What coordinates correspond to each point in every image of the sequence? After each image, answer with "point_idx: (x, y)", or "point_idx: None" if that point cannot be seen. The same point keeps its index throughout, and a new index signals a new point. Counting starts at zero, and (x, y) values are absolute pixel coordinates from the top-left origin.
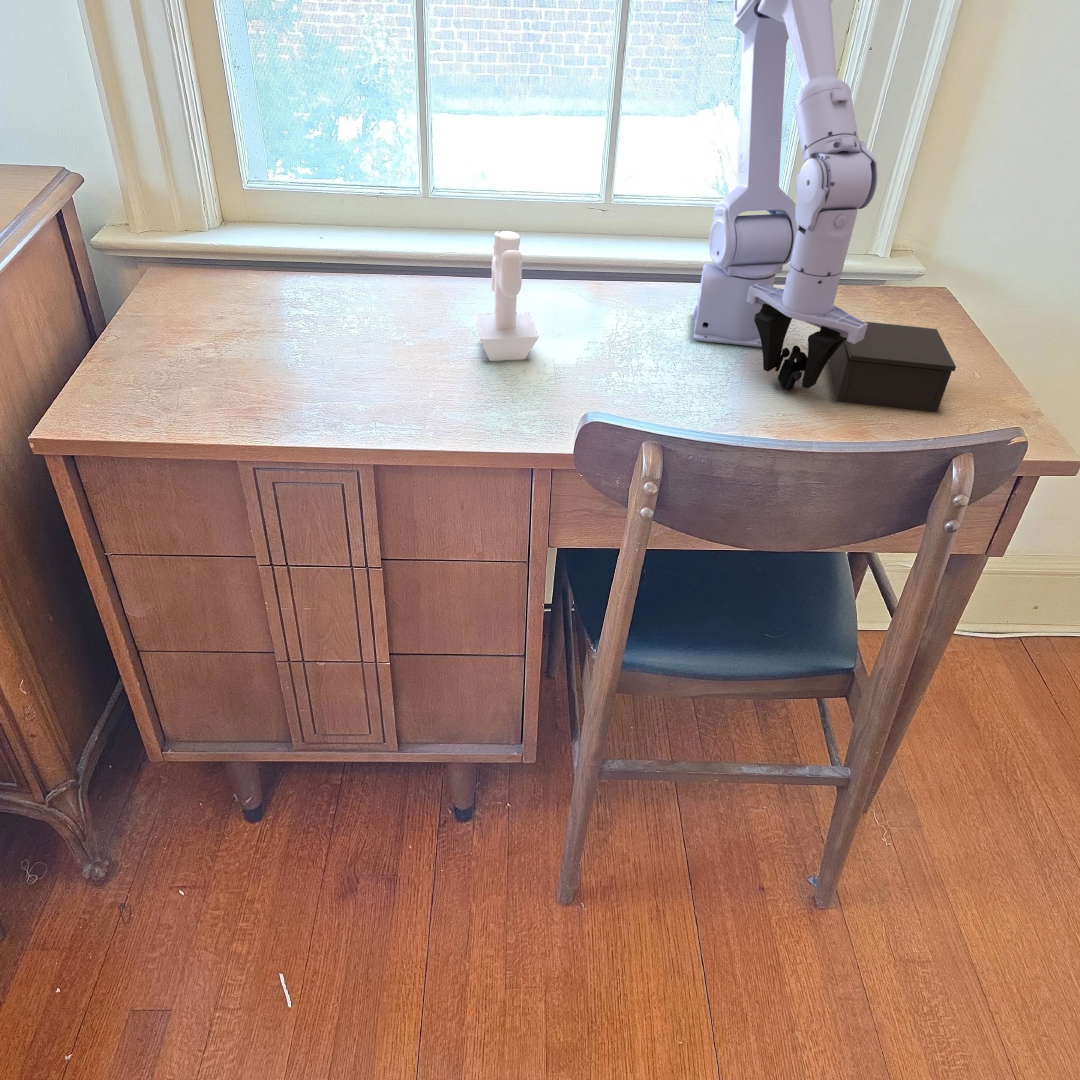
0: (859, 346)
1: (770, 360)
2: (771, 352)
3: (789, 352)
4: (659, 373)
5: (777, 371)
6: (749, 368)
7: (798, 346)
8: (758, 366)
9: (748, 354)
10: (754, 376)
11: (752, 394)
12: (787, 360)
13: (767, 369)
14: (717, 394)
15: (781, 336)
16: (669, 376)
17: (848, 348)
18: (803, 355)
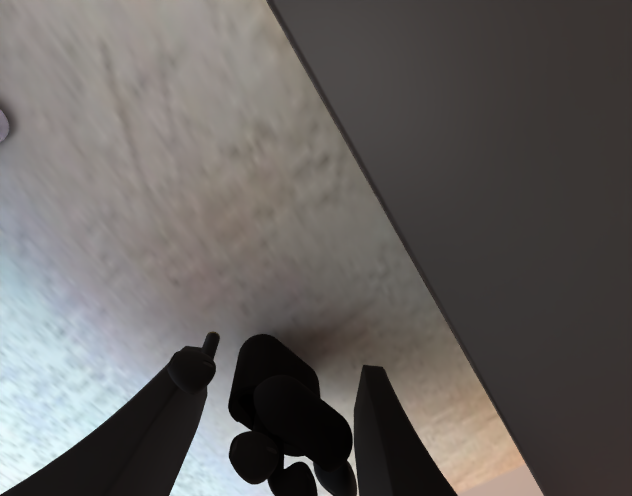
0: (618, 455)
1: (191, 430)
2: (175, 463)
3: (210, 378)
4: (9, 473)
5: (218, 341)
6: (118, 316)
7: (257, 479)
8: (125, 284)
9: (26, 225)
10: (169, 350)
11: (239, 432)
12: (241, 410)
13: (203, 403)
14: (178, 474)
15: (138, 480)
16: (35, 471)
17: (543, 493)
18: (300, 450)
